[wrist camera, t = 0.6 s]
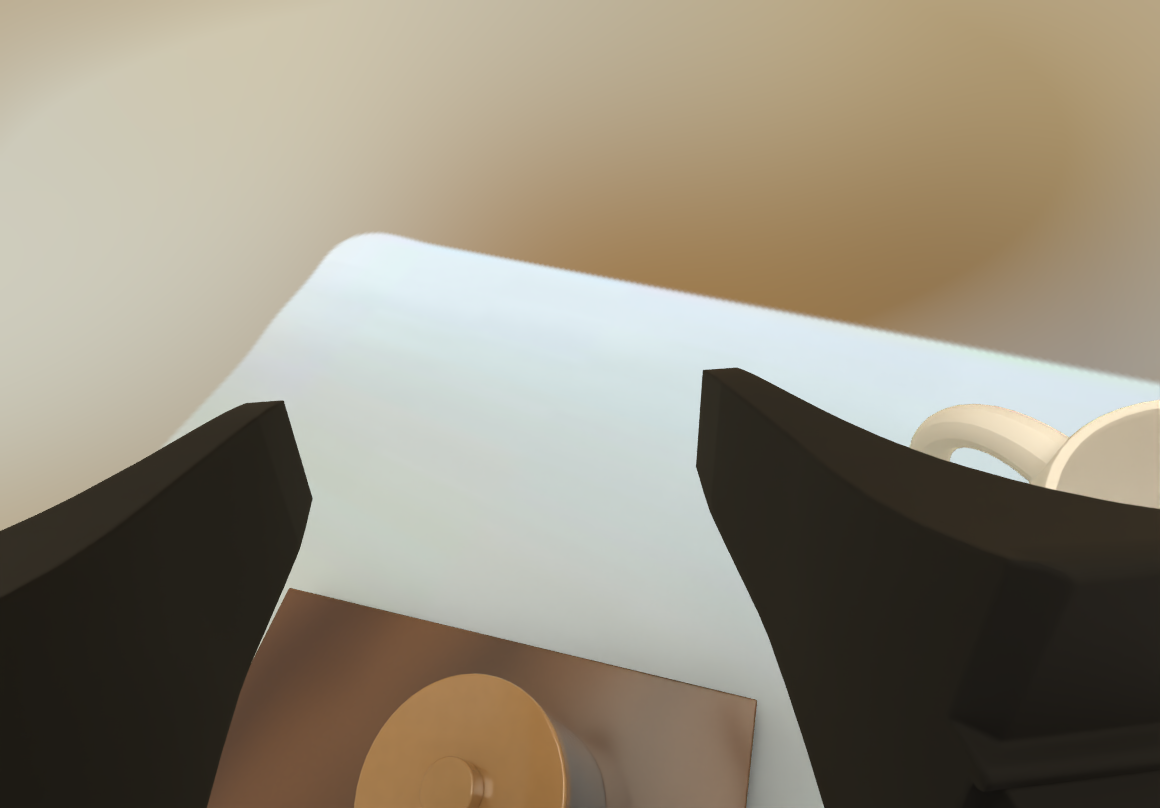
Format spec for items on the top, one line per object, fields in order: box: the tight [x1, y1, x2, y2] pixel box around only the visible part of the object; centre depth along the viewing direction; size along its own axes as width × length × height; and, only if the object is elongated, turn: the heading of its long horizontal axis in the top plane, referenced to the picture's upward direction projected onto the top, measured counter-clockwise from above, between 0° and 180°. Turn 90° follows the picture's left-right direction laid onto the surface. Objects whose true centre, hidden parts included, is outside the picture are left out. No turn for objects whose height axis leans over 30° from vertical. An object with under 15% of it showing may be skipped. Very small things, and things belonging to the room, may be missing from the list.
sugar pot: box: [354, 673, 606, 808], centre depth 18 cm, size 6×6×8 cm
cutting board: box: [207, 588, 757, 808], centre depth 23 cm, size 20×10×2 cm, turn 75°
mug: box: [910, 400, 1160, 509], centre depth 19 cm, size 12×8×10 cm
